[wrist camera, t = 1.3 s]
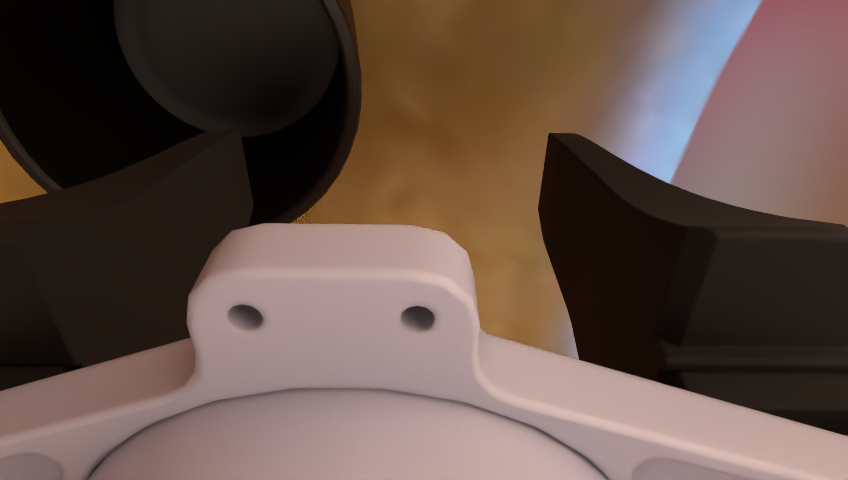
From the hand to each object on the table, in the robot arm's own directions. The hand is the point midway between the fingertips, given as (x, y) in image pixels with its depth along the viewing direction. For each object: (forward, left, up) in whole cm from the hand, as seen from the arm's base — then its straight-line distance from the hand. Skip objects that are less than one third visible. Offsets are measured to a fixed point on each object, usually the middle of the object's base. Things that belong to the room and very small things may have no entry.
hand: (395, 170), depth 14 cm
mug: (0, +6, -12) cm, 13 cm away
